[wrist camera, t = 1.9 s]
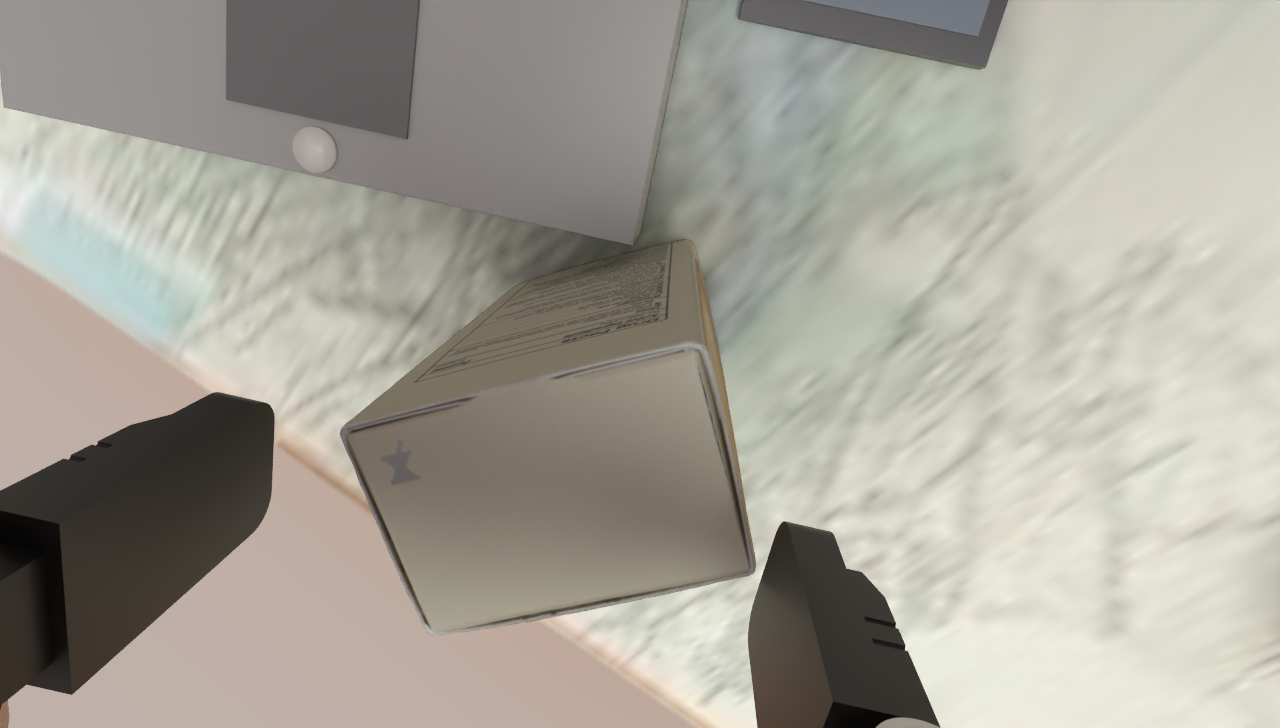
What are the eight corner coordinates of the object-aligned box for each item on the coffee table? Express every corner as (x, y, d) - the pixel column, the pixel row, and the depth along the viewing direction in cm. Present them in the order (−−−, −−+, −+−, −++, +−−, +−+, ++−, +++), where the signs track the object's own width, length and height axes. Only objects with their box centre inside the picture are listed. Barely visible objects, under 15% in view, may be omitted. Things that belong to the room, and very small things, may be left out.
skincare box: (551, 400, 24) (408, 649, 12) (512, 281, 22) (311, 430, 11) (732, 359, 23) (766, 588, 11) (702, 232, 21) (705, 339, 10)
